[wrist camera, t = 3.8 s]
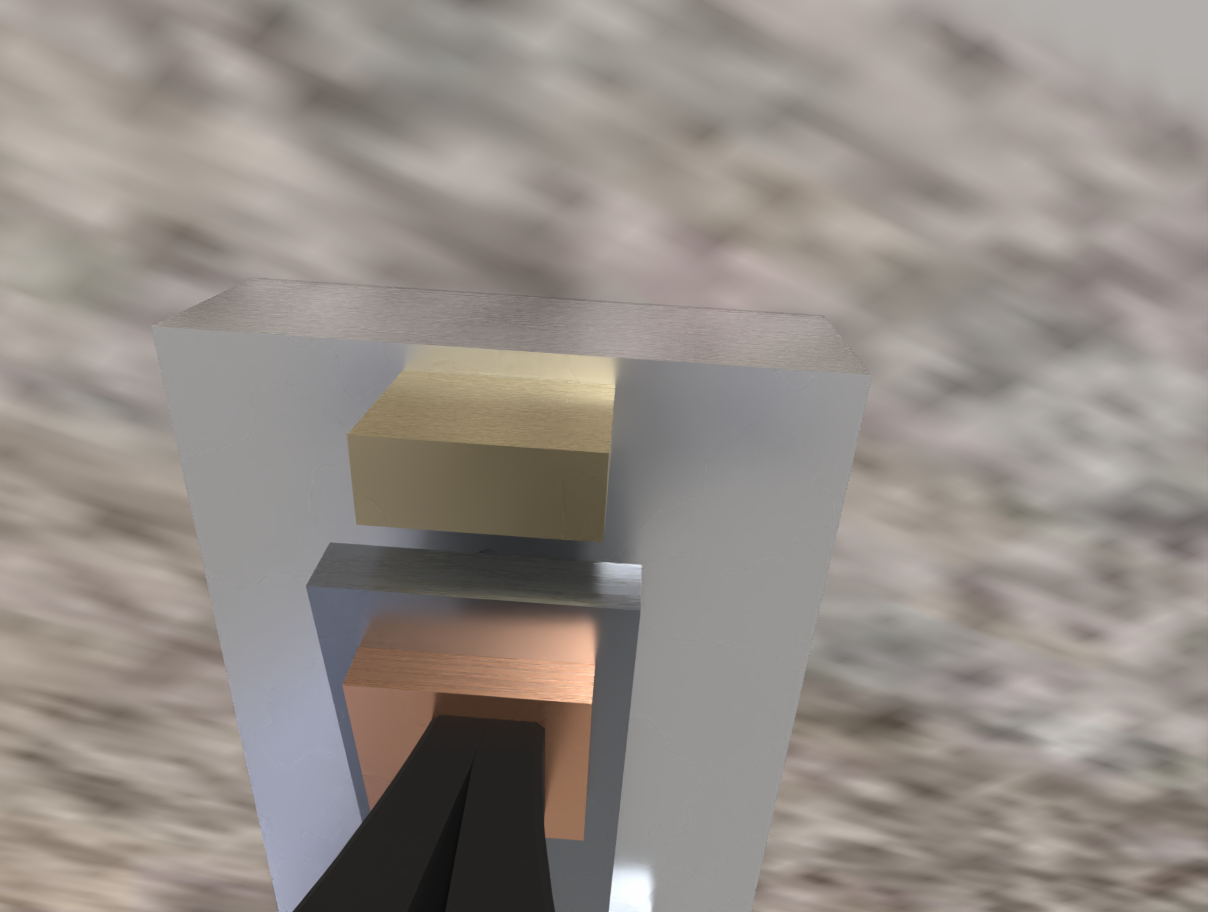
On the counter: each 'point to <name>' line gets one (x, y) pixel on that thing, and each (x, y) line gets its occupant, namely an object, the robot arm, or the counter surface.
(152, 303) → the counter surface
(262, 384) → the base block
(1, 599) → the counter surface
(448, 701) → the grey slab
